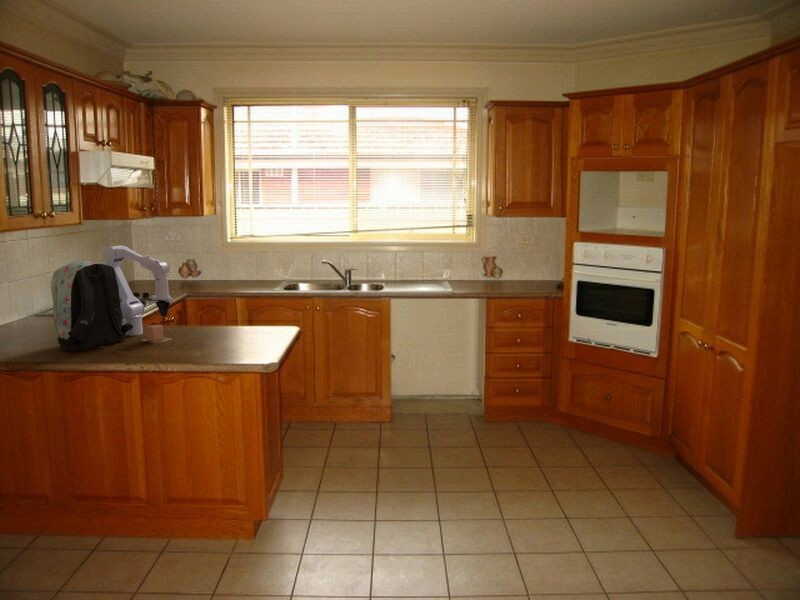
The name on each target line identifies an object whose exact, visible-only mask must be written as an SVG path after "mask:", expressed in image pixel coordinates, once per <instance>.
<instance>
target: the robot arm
mask: <svg viewBox="0 0 800 600" xmlns="http://www.w3.org/2000/svg"><path fill="white" fill-rule="evenodd" d="M103 250H104V251H103V253H102V257H103V259H104V261H105V264H106V265H109V266H112V267H113V268H114V271H115V274H116V280H117V283H118V286H119V292H120V300H121V301H120V303H121V312H122V316H123V318H122V325H124V324H127V323H129V324H131V325H133V328H132V329H131V330H129V331H128V332H126V337H127V336H140V335H143V334H144V333H143V332H144V328H143V319H142V318H143V314H144V313H145V305H144V304H143V303H142V302H141V301H140V299H139V298H138V297H136V296H135V295H134V294H133V292H132V290H131V288H130V286H129V283H128V282H127V279H126V277H125V275H124V272H123V271H122V268H121V267H120V266H121V264H122V263H123V262H124V260H125V259H129V260H131V261H135V262H137V263H139V265H140V266H141V267H142V268H144V269H147V271H150V272H151V273H152V275H153V278H154V282H155V283H154V284H155V287H154V288H155V295H151V301H153V300H154V301H155V302H154V304H155V305H156V307H157V308H158V311H159V314H160V316H161V317H167V315H168V310H169V307H170V306H171V305H170V304H171V303H174V302H175V301H174V298H173V297H172V296H171V295H170V293H169V290H170V289H169V280H168V273H169V272H170V265H169V263H168V262H166V261H164V260H163V261H160V260H159V259H155V258H153V257H152V256H151V255H150V254H147V255H141V254H139V253H138V252H135V251H134V250H132V249H130V248H129V247H128V246H125V245H123V244H119V245H115V246H114V245H113V246H107V247H105V249H103Z"/></svg>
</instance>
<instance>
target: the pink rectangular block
mask: <svg viewBox="0 0 800 600" xmlns="http://www.w3.org/2000/svg"><path fill="white" fill-rule="evenodd" d="M145 329H146V339H147V340H148V341H152V342H156V341H160V340H164V337H165V336H164V326H163V325H161V324H152V325H147V326H146V327H145Z"/></svg>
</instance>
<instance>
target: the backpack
mask: <svg viewBox="0 0 800 600" xmlns="http://www.w3.org/2000/svg"><path fill="white" fill-rule="evenodd" d="M50 289H51V297H52V306H53V307H52V309H53V311H52V313H53V314H52V315H53V317H52V318H53V323H54V328H55V330H56V333H57V342H58V344H59V348H61V349H62V350H64V351H66V352H69V353H73V352H81V351H86V350H89V349H93V348H98V347H102V346H105V345H109V344H115V343H119V342H121V341H123V340H124V338H126V337H127V336H126V332H128V331H129V330H131V329H132V328H133V325H131V324H129V323H127V324H124V325H122V321H123V318H124V316H123V315H122V312H121V297H120V292H119V286H118V283H117V280H116V274H115V271H114V268H113V267H112V266H109V265H106V263H103V262H102V263H101V262H94V261H93V262H92V261H90V260H84V259H82V260H81V259H80V260H75V261H71V262H69V263H67V264H65V265H62V266H61V267H59V268H58V269H56V270H55V271H54V272H53V275H52V277H51V283H50Z"/></svg>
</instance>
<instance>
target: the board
mask: <svg viewBox="0 0 800 600" xmlns="http://www.w3.org/2000/svg"><path fill="white" fill-rule="evenodd" d="M171 340H173V338H170V337H165V336H164V340H160V341H156V342H152V341H148V340H147V338H145V339H141V341H142V342H147V343H150V344H157V343H162V342H167V341H171Z"/></svg>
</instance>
